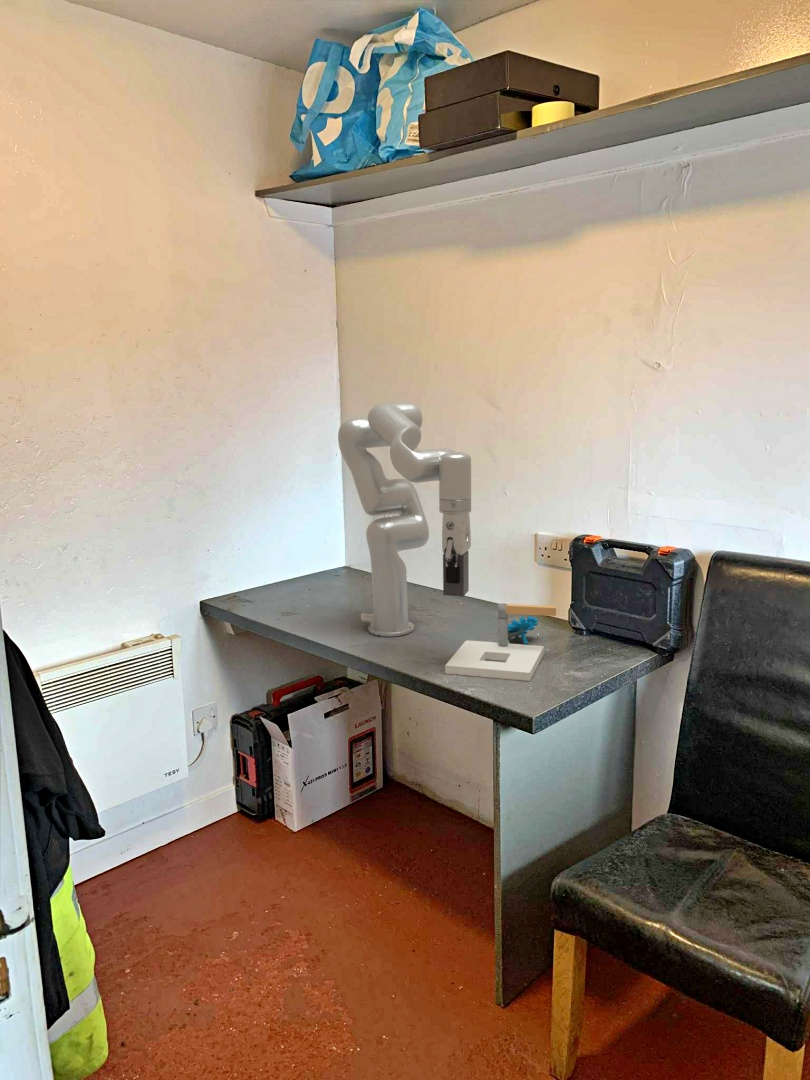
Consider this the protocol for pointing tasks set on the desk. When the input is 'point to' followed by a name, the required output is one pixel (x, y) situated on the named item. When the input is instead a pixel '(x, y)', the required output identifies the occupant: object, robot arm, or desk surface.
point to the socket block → (496, 658)
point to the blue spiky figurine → (521, 627)
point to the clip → (525, 610)
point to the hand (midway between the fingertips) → (455, 579)
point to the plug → (463, 585)
